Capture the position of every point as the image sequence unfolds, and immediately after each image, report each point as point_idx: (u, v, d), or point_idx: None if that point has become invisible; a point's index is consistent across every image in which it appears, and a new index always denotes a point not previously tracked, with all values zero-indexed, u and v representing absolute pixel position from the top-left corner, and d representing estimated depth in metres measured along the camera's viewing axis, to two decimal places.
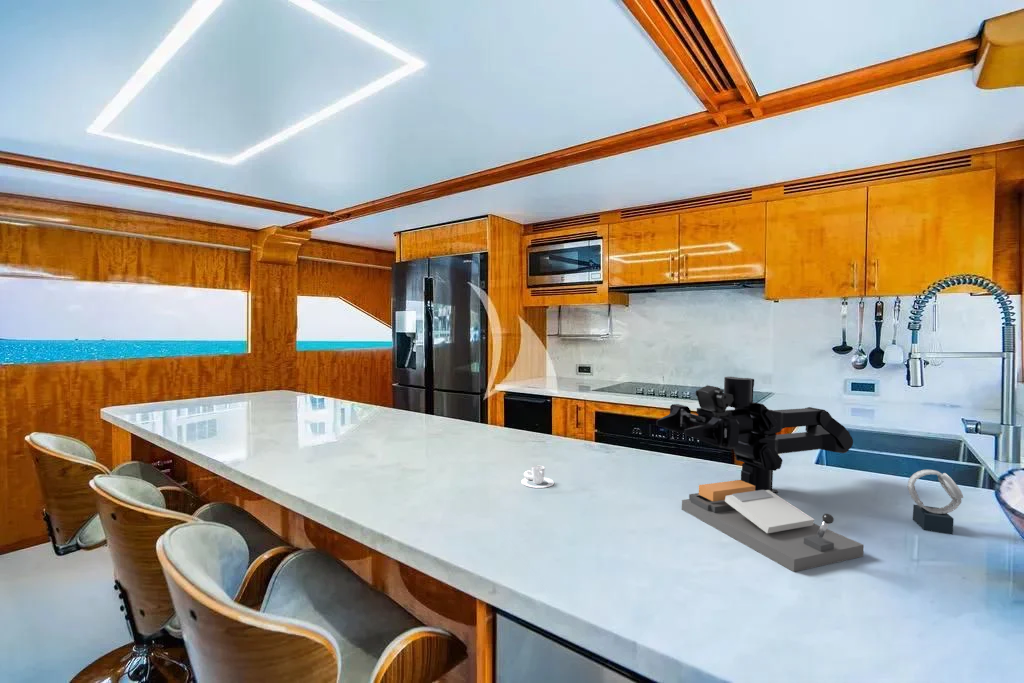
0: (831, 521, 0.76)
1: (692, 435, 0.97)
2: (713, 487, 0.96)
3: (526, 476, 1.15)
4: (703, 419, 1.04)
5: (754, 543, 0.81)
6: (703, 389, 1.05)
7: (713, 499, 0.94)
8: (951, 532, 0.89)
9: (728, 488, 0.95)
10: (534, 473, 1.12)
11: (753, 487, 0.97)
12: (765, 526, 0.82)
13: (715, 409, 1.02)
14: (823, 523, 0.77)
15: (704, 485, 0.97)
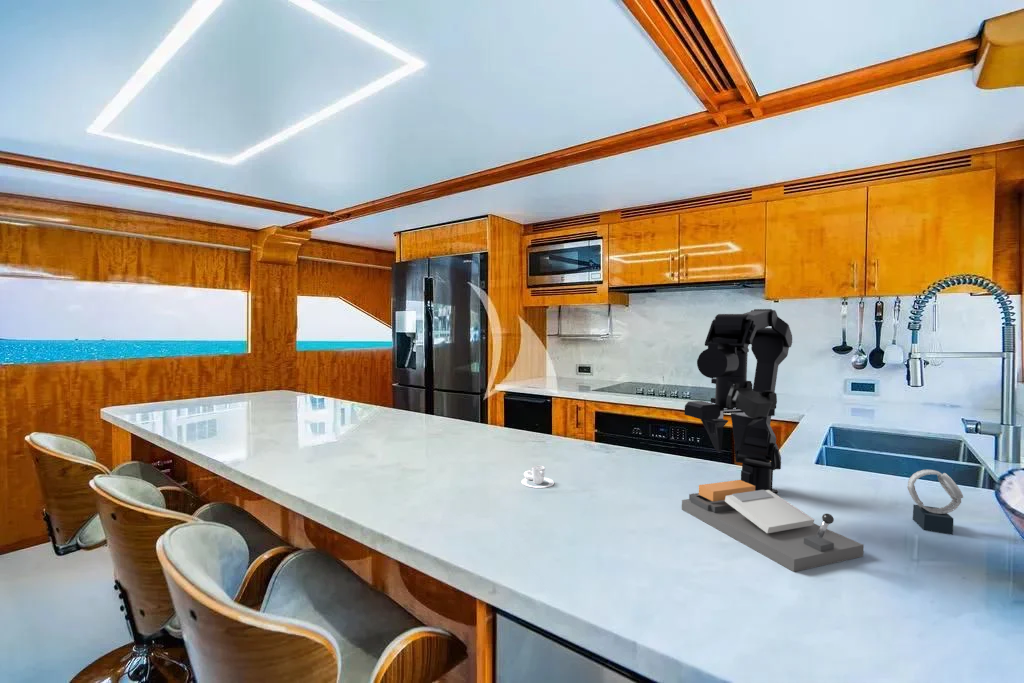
0: (831, 521, 0.76)
1: None
2: (713, 487, 0.96)
3: (526, 476, 1.15)
4: None
5: (754, 543, 0.81)
6: (759, 413, 0.89)
7: (713, 499, 0.94)
8: (951, 532, 0.89)
9: (728, 488, 0.95)
10: (534, 473, 1.12)
11: (753, 487, 0.97)
12: (765, 526, 0.82)
13: None
14: (823, 523, 0.77)
15: (704, 485, 0.97)
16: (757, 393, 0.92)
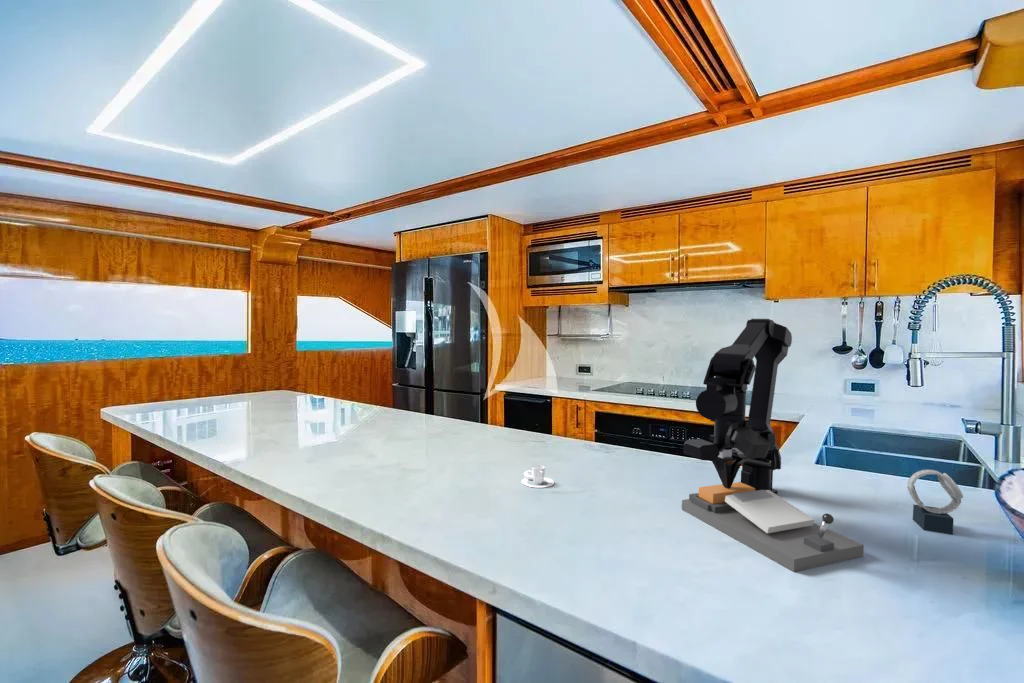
0: (831, 521, 0.76)
1: None
2: (713, 490, 0.96)
3: (526, 476, 1.15)
4: None
5: (754, 543, 0.81)
6: (758, 454, 0.89)
7: (713, 501, 0.94)
8: (951, 532, 0.89)
9: (728, 490, 0.95)
10: (534, 473, 1.12)
11: (753, 489, 0.97)
12: (765, 526, 0.82)
13: None
14: (823, 523, 0.77)
15: (704, 487, 0.97)
16: (756, 433, 0.93)
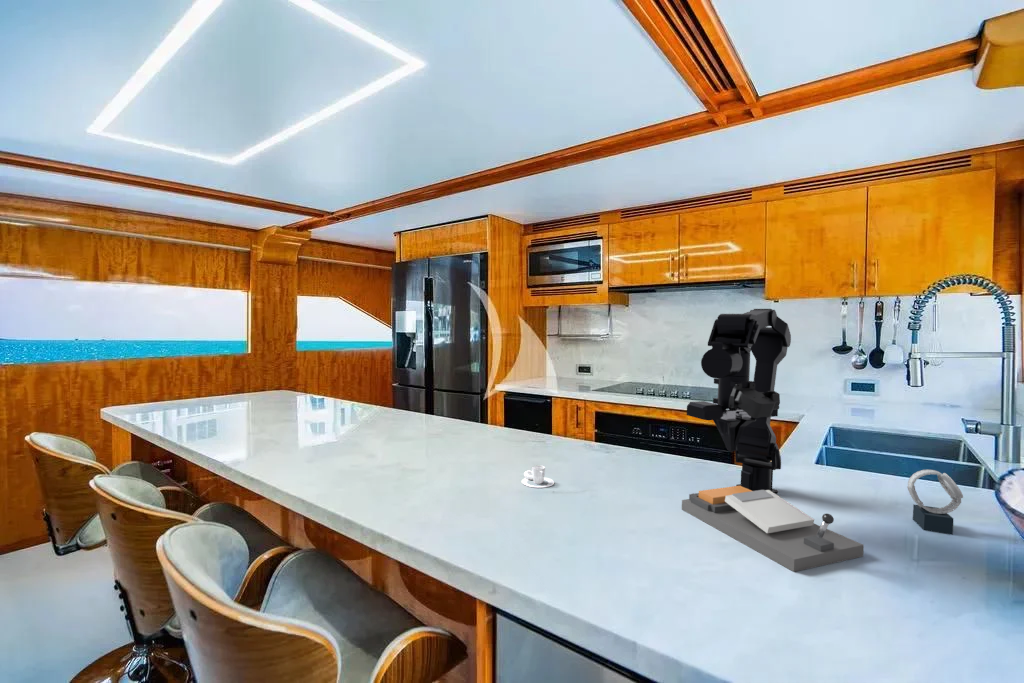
0: (831, 521, 0.76)
1: None
2: (713, 493, 0.96)
3: (526, 476, 1.15)
4: None
5: (754, 543, 0.81)
6: (762, 413, 0.88)
7: None
8: (951, 532, 0.89)
9: (728, 494, 0.95)
10: (534, 473, 1.12)
11: None
12: (765, 526, 0.82)
13: None
14: (823, 523, 0.77)
15: (704, 491, 0.97)
16: (760, 393, 0.92)
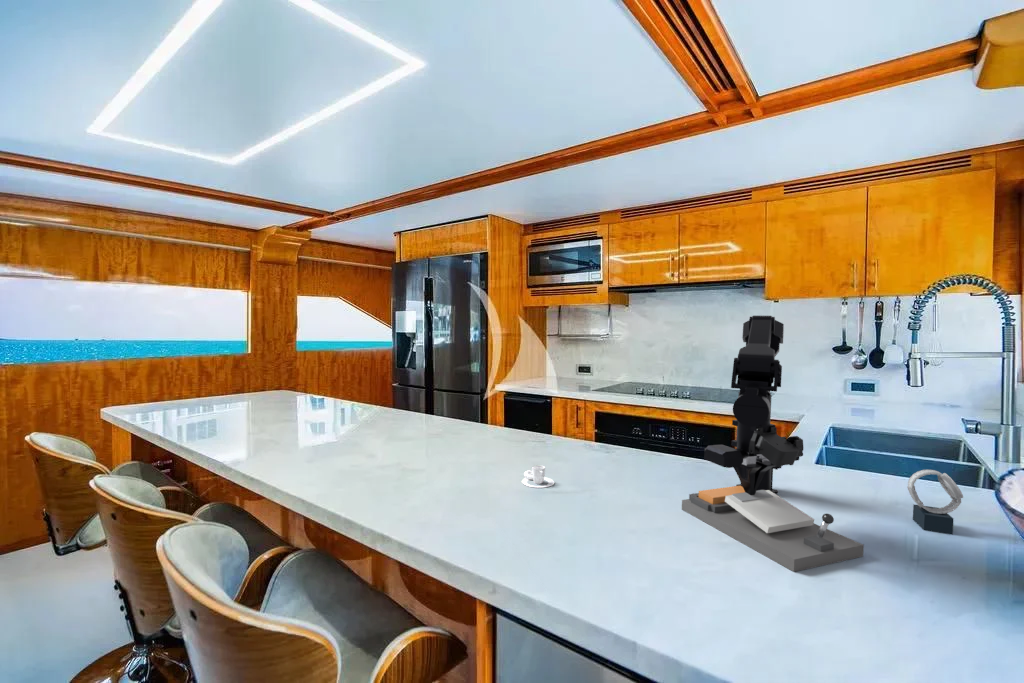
0: (831, 521, 0.76)
1: None
2: (713, 493, 0.96)
3: (526, 476, 1.15)
4: None
5: (754, 543, 0.81)
6: (785, 462, 0.84)
7: None
8: (951, 532, 0.89)
9: (728, 494, 0.95)
10: (534, 473, 1.12)
11: None
12: (765, 526, 0.82)
13: None
14: (823, 523, 0.77)
15: (704, 491, 0.97)
16: (782, 439, 0.87)
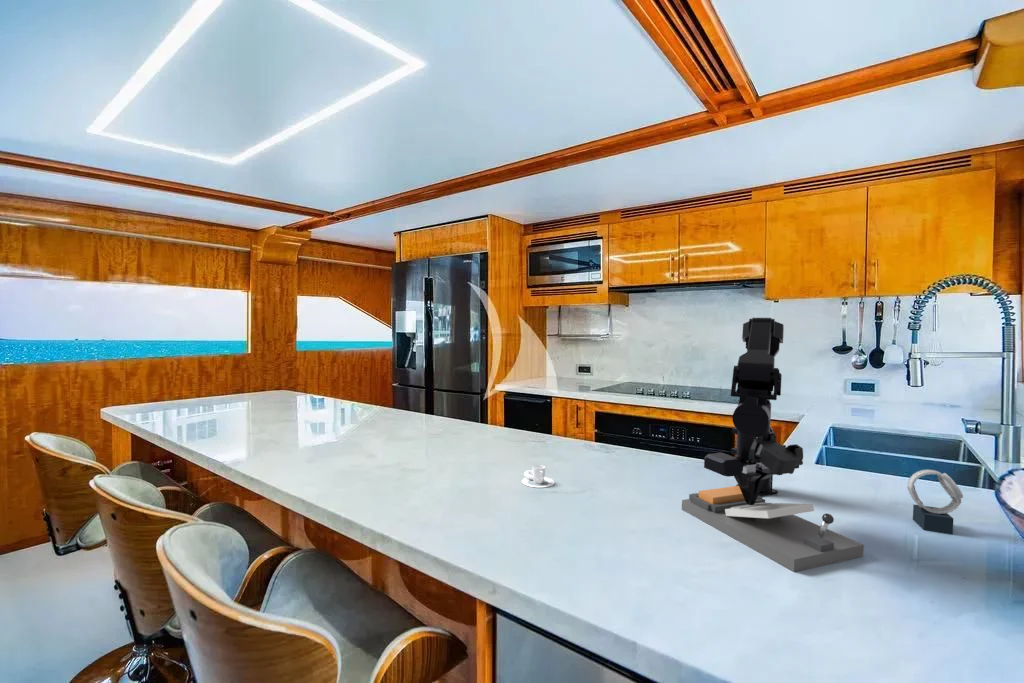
0: (831, 521, 0.76)
1: None
2: (713, 493, 0.96)
3: (526, 476, 1.15)
4: None
5: (754, 543, 0.81)
6: (785, 470, 0.84)
7: None
8: (951, 532, 0.89)
9: (728, 494, 0.95)
10: (534, 473, 1.12)
11: None
12: (764, 512, 0.82)
13: None
14: (823, 523, 0.77)
15: (704, 491, 0.97)
16: (782, 447, 0.87)
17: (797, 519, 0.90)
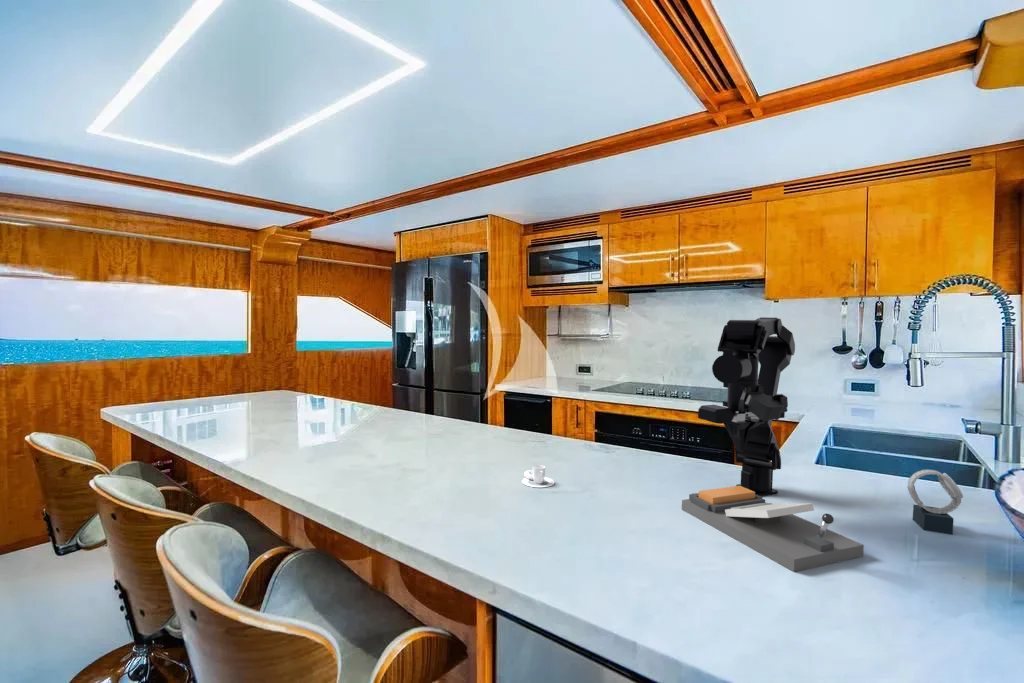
0: (831, 521, 0.76)
1: None
2: (713, 493, 0.96)
3: (527, 476, 1.15)
4: None
5: (754, 543, 0.81)
6: (771, 416, 0.92)
7: None
8: (951, 532, 0.89)
9: (728, 494, 0.95)
10: (534, 473, 1.13)
11: (753, 493, 0.97)
12: (764, 512, 0.82)
13: None
14: (823, 523, 0.77)
15: (704, 491, 0.97)
16: (768, 397, 0.95)
17: (797, 519, 0.90)
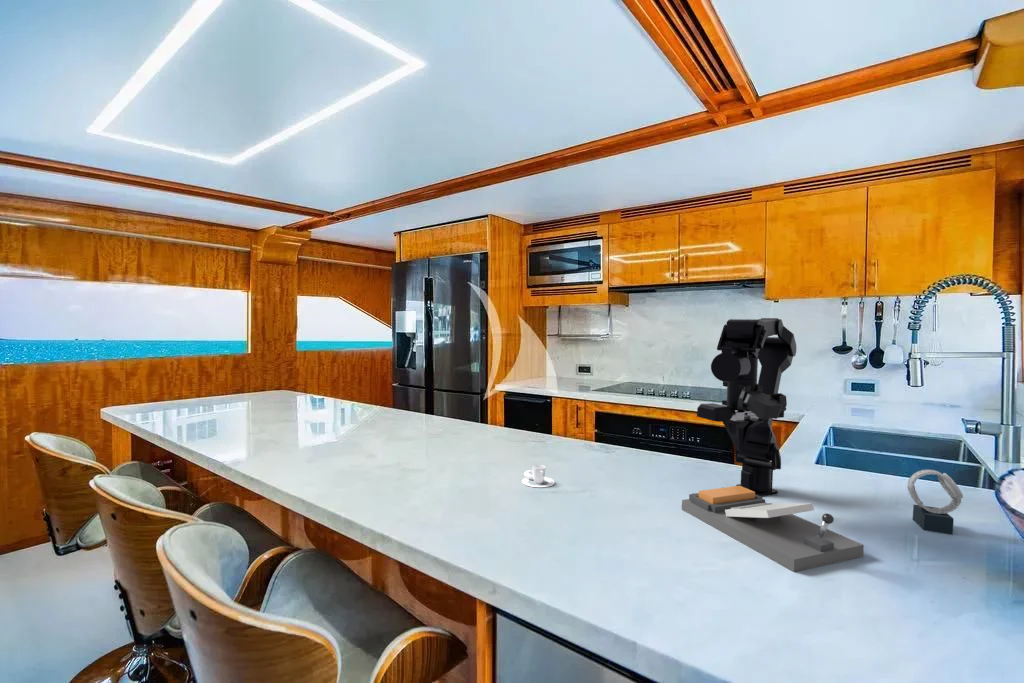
0: (831, 521, 0.76)
1: None
2: (713, 493, 0.96)
3: (527, 476, 1.15)
4: None
5: (754, 543, 0.81)
6: (770, 415, 0.93)
7: None
8: (951, 532, 0.89)
9: (728, 494, 0.95)
10: (534, 473, 1.13)
11: (753, 493, 0.97)
12: (764, 512, 0.82)
13: None
14: (823, 523, 0.77)
15: (704, 491, 0.97)
16: (767, 396, 0.96)
17: (797, 519, 0.90)
